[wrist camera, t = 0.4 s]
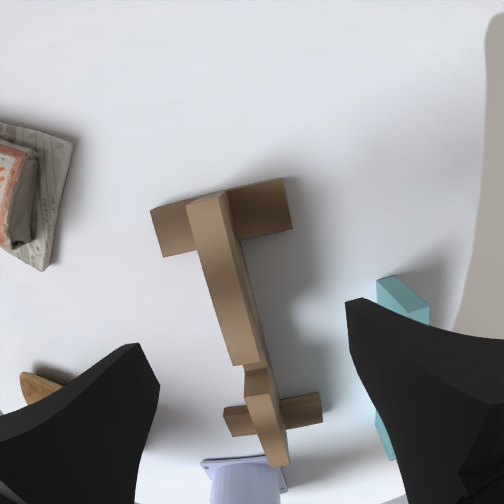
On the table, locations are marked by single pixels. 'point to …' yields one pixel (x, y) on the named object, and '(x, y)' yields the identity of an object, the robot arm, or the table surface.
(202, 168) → the table surface
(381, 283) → the slotted panel
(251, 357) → the notched board
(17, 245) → the packaged product
